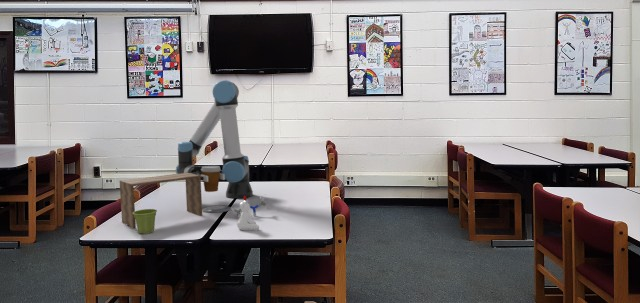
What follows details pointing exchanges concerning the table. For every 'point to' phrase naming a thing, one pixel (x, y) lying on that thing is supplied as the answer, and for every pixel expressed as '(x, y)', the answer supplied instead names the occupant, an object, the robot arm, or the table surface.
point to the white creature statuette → (246, 218)
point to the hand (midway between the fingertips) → (215, 178)
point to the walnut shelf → (191, 182)
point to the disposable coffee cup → (211, 177)
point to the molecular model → (251, 207)
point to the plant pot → (145, 220)
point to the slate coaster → (216, 209)
